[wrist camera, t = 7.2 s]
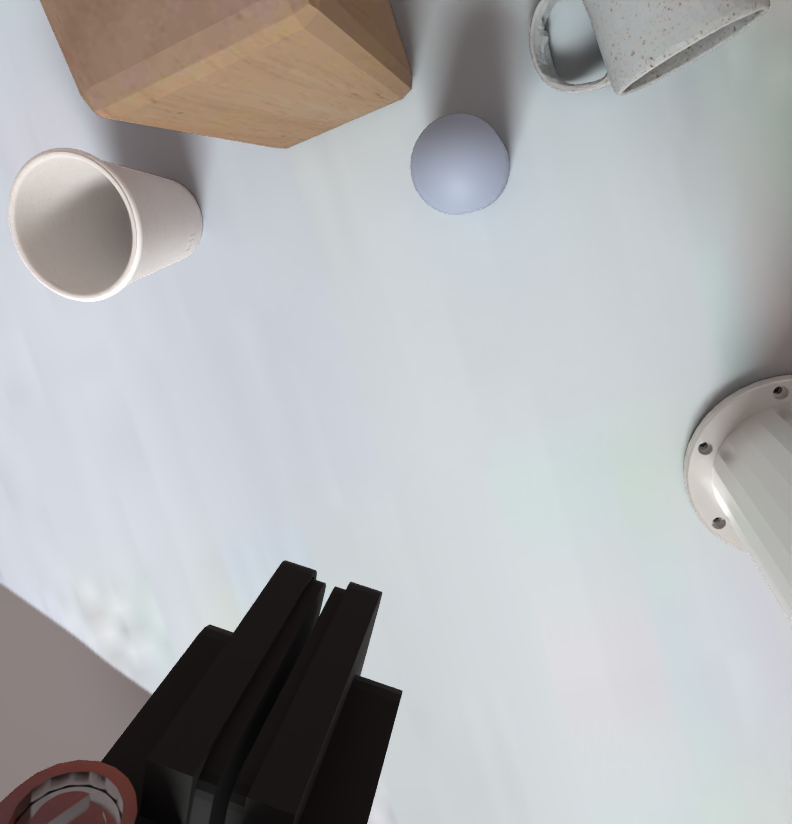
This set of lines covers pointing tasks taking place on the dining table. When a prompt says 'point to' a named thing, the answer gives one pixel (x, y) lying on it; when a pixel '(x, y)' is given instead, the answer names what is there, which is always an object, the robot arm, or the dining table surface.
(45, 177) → the dixie cup
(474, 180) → the bluegrey post
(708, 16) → the ceramic mug
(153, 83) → the block
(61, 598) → the dining table surface
